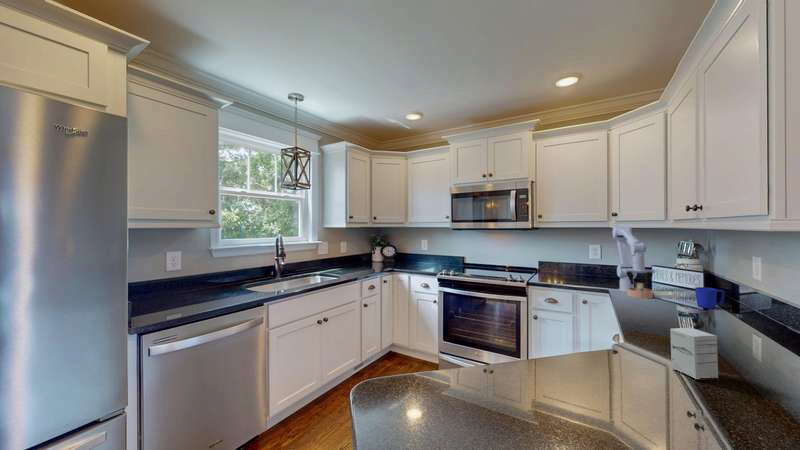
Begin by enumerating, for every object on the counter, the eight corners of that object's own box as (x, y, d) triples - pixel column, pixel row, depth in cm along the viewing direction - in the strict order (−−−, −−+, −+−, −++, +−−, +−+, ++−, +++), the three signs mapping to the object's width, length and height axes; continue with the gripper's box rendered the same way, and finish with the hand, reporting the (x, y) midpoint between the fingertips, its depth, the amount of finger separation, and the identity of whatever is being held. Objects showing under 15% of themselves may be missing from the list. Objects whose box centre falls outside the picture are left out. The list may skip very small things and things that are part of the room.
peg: (634, 295, 190) (634, 282, 190) (642, 295, 189) (642, 282, 189) (637, 296, 186) (636, 283, 187) (645, 296, 185) (644, 283, 185)
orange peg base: (624, 294, 196) (624, 287, 196) (648, 295, 191) (648, 288, 191) (631, 298, 184) (630, 291, 184) (657, 299, 179) (656, 292, 180)
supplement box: (670, 369, 93) (668, 328, 93) (692, 368, 93) (690, 326, 94) (696, 381, 85) (694, 336, 86) (719, 380, 86) (717, 334, 86)
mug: (731, 310, 155) (730, 290, 155) (703, 309, 157) (702, 289, 157) (718, 306, 163) (717, 287, 163) (691, 305, 165) (690, 287, 166)
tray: (646, 294, 195) (646, 290, 195) (670, 295, 190) (670, 291, 190) (654, 298, 183) (654, 294, 183) (679, 299, 179) (679, 295, 179)
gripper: (626, 263, 187) (627, 285, 187) (655, 263, 182) (656, 286, 181) (623, 261, 194) (623, 283, 193) (651, 262, 188) (652, 284, 188)
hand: (639, 284), depth 188 cm, fingers open, 7 cm apart
